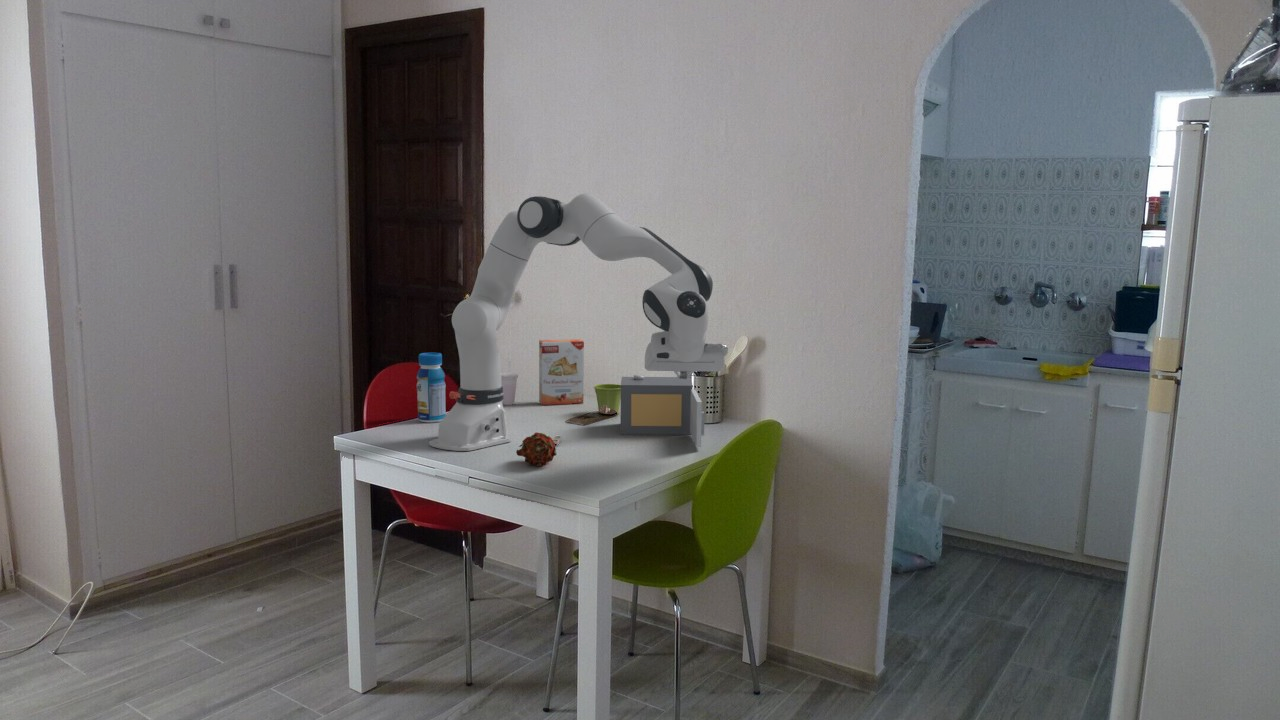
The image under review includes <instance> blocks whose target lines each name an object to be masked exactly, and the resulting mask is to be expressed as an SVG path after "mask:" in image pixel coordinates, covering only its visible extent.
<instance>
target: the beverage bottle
mask: <svg viewBox="0 0 1280 720" xmlns="http://www.w3.org/2000/svg"><path fill="white" fill-rule="evenodd" d="M442 364H443V354H442V353H441V352H422V353H419V354H418V365H419V366H420V368H419V369H418V372H417V374H416V379H417V383H416V393H417V394H416V395H417V396H416V398H417V420H418V421H419V422H421V423H430V424H431V423H432V424H433V423H440V422H441V420H442V419H443V418H444V417H445V416H446V415H447V413H446V412H447V411H446V387H447V386H446V382H445V378H446V375H445V372H444V370H443V368H442V367H441V366H442Z"/></svg>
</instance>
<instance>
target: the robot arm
mask: <svg viewBox="0 0 1280 720" xmlns="http://www.w3.org/2000/svg"><path fill="white" fill-rule="evenodd" d="M580 241H581V242H582V244H584V246H586V248H587V250H589V251H590V252H591V253H592V254H593V255H594V256H596V257H597V258H598V259H600V260H604V261H607V262H608V261H609V262H618V261H622V260H627V259H628V260H629V259H632V258H634V259H635V258H646V259H647V258H648V259H650V260H653V261H655V262H656V263H657V264H659V265H660V266H661V267H662V268H663V269H665V270H666V271H668V272H669V274H671V275H669V276H667V277H666V278H664V279H662V280H660V281H658V282H656V283H655V284H653V285H652V286H650V287H647V289H645V290H644V292H643V295H642V310H643V313H644V315H645V317H646V318H647V320H648V321H649V322H650V323H651V324H652V325H653V326H655V327H656V328H658V329H660V330H662V331H658V332H654V333H652V334H651V338H650V342H649V343H648V344H647V347H646V348H645V349H646V350H645V353H644V369H645V370H646V371H649V372H653V371H654V372H655V371H657V372H664V371H665V372H674V374H675V375H676V377H677V379H689V377H691V375H692V374H694V373H695V372H722V371H723V370H724V369H725V367H726V365H725V362H726V361H725V357H726V356H727V355H728V351H729V347H728V346H727V345H723V344H722V343H706V337H707V336H706V332H707V330H708V323H709V309H708V304H707V302H708V301H709V300H710V299H711V296H712V294H713V293H712V292H713V288H714V284H713V283H714V282H713V279H712V276H711V275H710V273H709V272H708V271H707V269H705V268H704V267H702V266H701V265H700V264H698V263H695V262H694V261H692V260H690V259H689V258H687V257H686V256H685V255H683V254H682V253H681V252H680V251H678V250H676V248H674V247H673V246H672V245H670V244H669V243H668V242H666V241H665V240H664V239H662V238H661V237H660V236H658V235H657V234H656V233H654V232H653V231H652V230H650V229H648V228H646V227H644V226H643V227H642V226H637V225H633V224H631V223H629V222H627V221H625V220H624V219H622V218H621V217H620V216H619V215H618V214H617V213H616V212H615V211H614V210H613V209H611V208H610V206H608V205H607V204H606V203H605V202H604V201H602V200H601V199H599V198H598V197H596V196H595V195H594V194H592V193H588V192H587V193H586V192H585V193H580V194H577V195H576V196H575V197H574V198H572V199H571V201H569V202H568V203H564V202H562V201H560V200H558V199H556V198H555V199H554V198H550V197H546V196H530V197H528V198H525V199H524V200H523V201H522V203H520V206H519V207H518V210H513V211H510V212H508V213H507V214H506V215H505V217H504V218H503V220H502V221H501V223H500V224H499V226H498V227H497V229H496V231H495V232H494V234H493V236H492V238H491V240H490V243H489V244H488V246H487V249H486V251H485V253H484V255H483V258H482V260H481V262H480V264H479V267H478V269H477V276H476V279H475V283H474V286H473V289H472V292H471V294H470V296H469V297H467V298H466V299H463V300H461V301H460V302H459V303H458V304H457V306H456V307H455V308H454V310H453V313H452V315H451V324H452V328H453V330H454V334H455V342H456V347H457V351H458V357H459V375H460V376H459V379H460V384H459V385H460V387H459V388H458V390H457V391H454V390H452V391H450V392H449V398H450V399H452V400H455V402H456V403H455V404H454V405H453V406H452V407H451V409H450V410H449V411H448V413H446V416H445V417H444V418H443V419H442V420H441V422H439V424H438V425H439V426H438V436H437V437H436V438H434V439H432V440H430V441H429V446H431V447H433V448H437V449H440V450H446V451H447V450H448V451H454V452H457V451H458V452H469V451H475V450H479V449H484V448H488V447H492V446H497V445H501V444H505V443H510V442H511V437H510V436H509V433H508V426H507V425H508V424H507V416H506V410H505V408H504V404H503V394H504V392H503V387H502V386H501V374H502V357H501V355H500V351H499V346H498V339H497V331H498V330H500V329H501V327H502V326H503V324H504V321H505V319H506V317H507V314H508V312H509V309H510V306H511V304H512V301H513V298H514V295H515V293H516V292H515V291H516V289H517V286H518V284H519V281H520V279H521V277H522V276H523V273H524V271H525V268H526V267H527V265H528V263H529V260H530V257H531V256H532V254H533V251H534V249H535V248H536V246H537V245H538V244H539V243H546V244H548V245H555V246H560V247H566V246H567V247H568V246H573V245H575V244H578V243H579V242H580Z"/></svg>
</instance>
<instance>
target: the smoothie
mask: <svg viewBox="0 0 1280 720" xmlns="http://www.w3.org/2000/svg"><path fill="white" fill-rule="evenodd" d="M511 370H512V365H511V361H510V360H509V361H508V372H504V373H502V372H501V386H502V387H503V392H504V394H503V400H502V404H503V406H504V405H506V406H511V405H512V404H513V405H515V402H516V393H517V392H516V391H517V383H518V379H519V373H514V372H512V371H511ZM513 405H512V406H513Z"/></svg>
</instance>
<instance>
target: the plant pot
mask: <svg viewBox="0 0 1280 720" xmlns="http://www.w3.org/2000/svg"><path fill="white" fill-rule="evenodd" d="M592 387H593V389H594V392H595V395H596V401H597V402H596V403H597V409H598V412H599V411H600V409H601V407H602V406H603V404H604V403H605V404H604V405H607V407H608V408H610V409H613V410H615V411H616V412H617V414H616V415H618V414H619V412H620V407H621V384H617V383H601V384H595V385H593V386H592Z"/></svg>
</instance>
